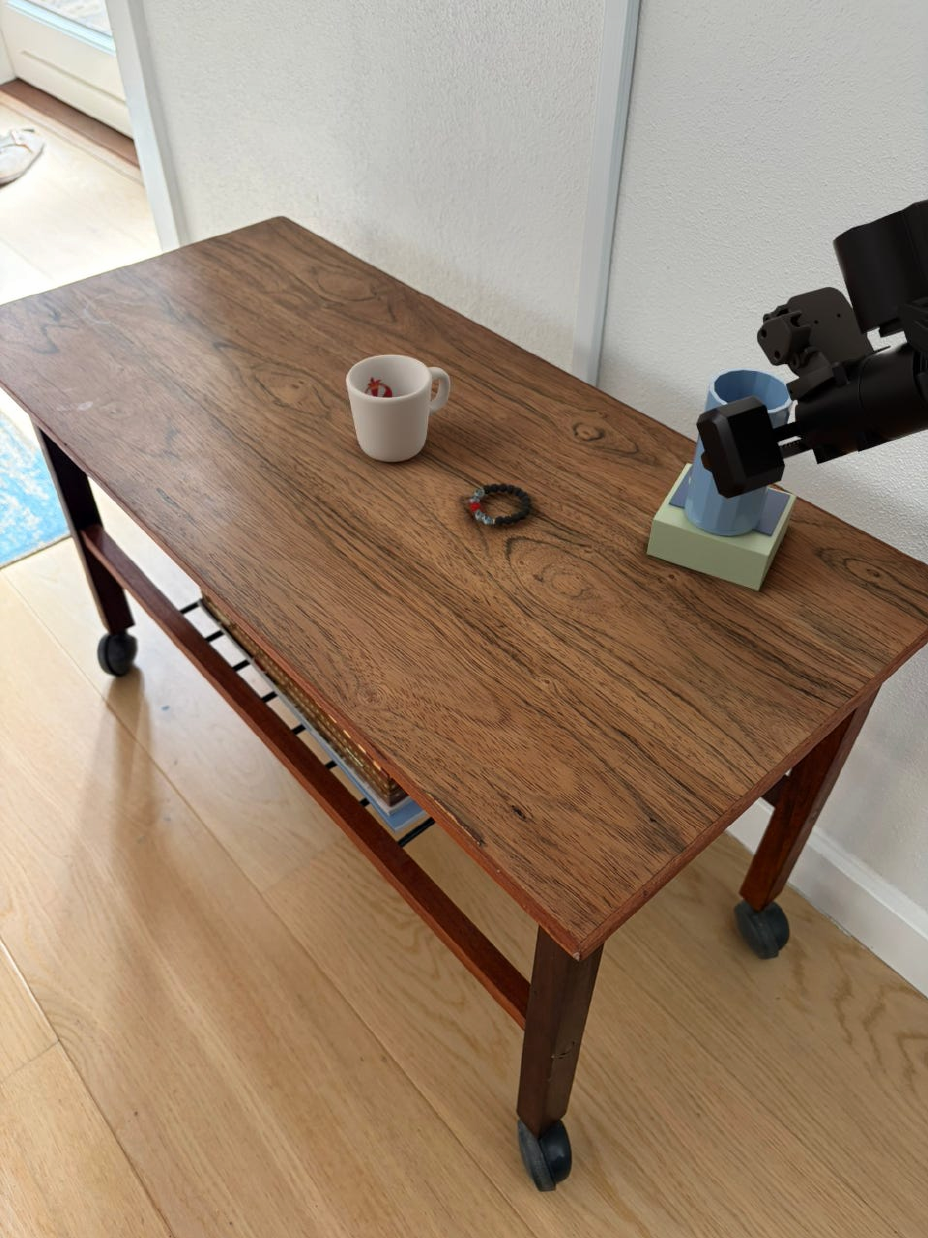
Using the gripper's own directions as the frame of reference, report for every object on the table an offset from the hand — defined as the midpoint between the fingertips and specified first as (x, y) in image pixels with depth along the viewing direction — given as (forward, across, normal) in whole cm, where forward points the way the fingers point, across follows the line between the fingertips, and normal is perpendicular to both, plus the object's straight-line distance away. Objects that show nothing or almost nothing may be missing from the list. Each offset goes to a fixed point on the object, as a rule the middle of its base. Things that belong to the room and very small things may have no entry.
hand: (750, 445), depth 81 cm
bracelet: (+19, +14, -2) cm, 24 cm away
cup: (+28, +18, -12) cm, 35 cm away
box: (+10, -1, +7) cm, 12 cm away
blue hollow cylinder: (+6, 0, +4) cm, 8 cm away
